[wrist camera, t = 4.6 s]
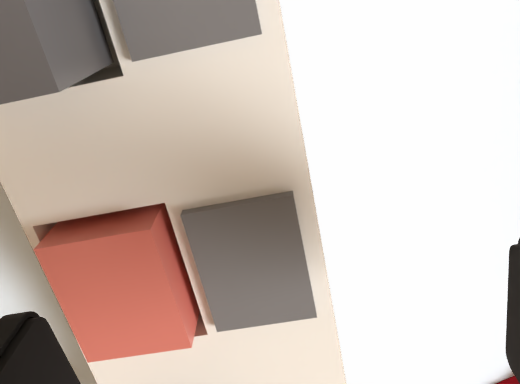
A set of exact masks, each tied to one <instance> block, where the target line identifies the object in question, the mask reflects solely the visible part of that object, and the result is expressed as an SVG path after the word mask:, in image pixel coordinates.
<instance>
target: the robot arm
mask: <svg viewBox="0 0 520 384" xmlns="http://www.w3.org/2000/svg"><path fill="white" fill-rule="evenodd" d="M506 355H507V359H508V363H509V365H510V368H511V370H512V372H513V373H514V375H515V377H516V378H517V380H518V382H519V384H520V239H519V241H518V244H516V245H512V246H511V247H510V251H509V275H508V302H507V329H506ZM0 384H80V382H79V380H78V378H77V376H76V374H75V372H74V371H73V369H72V367H71V365H70V363H69V361H68V359H67V357H66V356H65V354H64V352H63V350H62V348H61V346H60V344H59V342H58V341H57V339H56V337H55V335H54V333H53V331H52V329H51V327H50V325H49V324H48V322H47V320H46V319H45V318H43V317H39V315H38V314H37V313H35V312H31V311H30V312H23V313H17V314H10V315H6V316H3V317H2V318H1V319H0Z"/></svg>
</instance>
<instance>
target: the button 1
mask: <svg viewBox="0 0 520 384" xmlns="http://www.w3.org/2000/svg"><path fill="white" fill-rule="evenodd" d="M112 63H114V61H113V58H112V55H111V52H110V49H109V46H108V43H107V40H106V37H105V34H104V31H103V28H102V25H101V21H100V18H99V15H98V12H97V9H96V6H95V3H94V0H0V105H1V104H6V103H10V102H15V101H20V100H24V99H29V98H34V97H39V96H43V95H48V94H53V93H58V92H61V91H62V90H64V89H66V88H68V87H70V86H72V85H73V84H75V83H77V82H79V81H81V80H83V79H84V78H86V77H88V76H90V75H92V74H94V73H95V72H97V71H99V70H101V69H103V68H105V67H106V66H108V65H110V64H112Z"/></svg>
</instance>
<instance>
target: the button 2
mask: <svg viewBox="0 0 520 384" xmlns="http://www.w3.org/2000/svg"><path fill="white" fill-rule="evenodd" d="M33 250H34V252H35V254H36V256H37V258H38V260H39V262H40V264H41V266H42V268H43V270H44V273H45V275H46V277H47V279H48V281H49V283H50V285H51V287H52V289H53V291H54V293H55V296H56V298H57V300H58V302H59V304H60V306H61V308H62V310H63V312H64V314H65V316H66V318H67V321H68V323H69V325H70V327H71V329H72V331H73V333H74V335H75V337H76V339H77V341H78V343H79V346H80V348H81V350H82V352H83V354H84V356H85V358H86V360H87V362H88V363H89V362H96V361H103V360H110V359H117V358H124V357H131V356H138V355H145V354H152V353H159V352H166V351H173V350H180V349H187V348H192V344H193V340H194V335H195V330H196V326H197V321H198V316H199V312H200V309H199V306H198V303H197V300H196V297H195V294H194V291H193V288H192V285H191V282H190V278H189V275H188V272H187V269H186V266H185V263H184V260H183V257H182V254H181V251H180V248H179V245H178V242H177V238H176V235H175V232H174V229H173V226H172V223H171V220H170V217H169V214H168V211H167V208H166V205H165V203H161V204H155V205H150V206H144V207H138V208H133V209H127V210H122V211H116V212H110V213H105V214H99V215H94V216H88V217H83V218H77V219H71V220H66V221H60V222H57V223H56V224H55V225H54V227H53V228H52V229H51V230H50V231H49V232H48V233H47V235H46V236H45V237H44V238H43V239H42V240H41V241H40V243H39V244H38V245H37V246H36V247H35V248H34V249H33Z"/></svg>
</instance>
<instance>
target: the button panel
mask: <svg viewBox="0 0 520 384" xmlns="http://www.w3.org/2000/svg"><path fill="white" fill-rule="evenodd" d="M94 3H95V6H96V9H97V12H98V15H99V18H100V21H101V25H102V28H103V31H104V34H105V37H106V40H107V43H108V46H109V49H110V52H111V55H112V58H113V61H114V63H112V64H110V65H108V66H106V67H105V68H103V69H101V70H99V71H97V72H95V73H94V74H92V75H90V76H88V77H86V78H84V79H83V80H81V81H79V82H77V83H75V84H73V85H72V86H70V87H68V88H66V89H64V90H62V91H61V92H58V93H53V94H48V95H43V96H39V97H34V98H29V99H24V100H20V101H15V102H10V103H6V104H1V105H0V182H1V184H2V187H3V189H4V191H5V193H6V195H7V197H8V199H9V201H10V203H11V205H12V207H13V209H14V212H15V214H16V216H17V218H18V220H19V222H20V224H21V226H22V228H23V230H24V232H25V234H26V237H27V239H28V241H29V243H30V245H31V247H32V249H34V248H35V247H36V246H37V245H38V244H39V243H40V241H41V240H42V239H43V238H44V237H45V236H46V235H47V233H48V232H49V231H50V230H51V229H52V228H53V227H54V225H55V224H56V223H57V222H60V221H66V220H71V219H77V218H83V217H88V216H94V215H99V214H105V213H110V212H116V211H122V210H127V209H133V208H138V207H144V206H150V205H155V204H161V203H165V205H166V208H167V211H168V214H169V217H170V220H171V223H172V226H173V229H174V232H175V235H176V238H177V242H178V245H179V248H180V251H181V254H182V257H183V260H184V263H185V266H186V269H187V272H188V275H189V278H190V282H191V285H192V288H193V291H194V294H195V297H196V300H197V303H198V306H199V309H200V312H199V316H198V321H197V326H196V330H195V335H194V340H193V344H192V348H187V349H180V350H173V351H166V352H159V353H152V354H145V355H138V356H131V357H124V358H117V359H110V360H103V361H96V362H89V363H88V362H87V364H88V366H89V368H90V370H91V372H92V374H93V376H94V378H95V380H96V382H97V384H346V379H345V374H344V368H343V362H342V356H341V351H340V345H339V339H338V334H337V328H336V322H335V317H334V311H333V305H332V299H331V294H330V288H329V282H328V277H327V271H326V265H325V260H324V254H323V248H322V242H321V237H320V231H319V225H318V220H317V214H316V208H315V203H314V197H313V191H312V185H311V180H310V174H309V168H308V163H307V157H306V151H305V146H304V140H303V134H302V128H301V123H300V117H299V111H298V106H297V100H296V94H295V89H294V83H293V77H292V71H291V66H290V60H289V54H288V49H287V43H286V37H285V32H284V26H283V20H282V14H281V9H280V3H279V0H94ZM33 251H34V250H33ZM34 253H35V252H34ZM35 255H36V254H35ZM36 257H37V256H36ZM37 259H38V258H37ZM38 262H39V260H38ZM39 264H40V262H39ZM40 266H41V264H40ZM41 268H42V266H41ZM42 270H43V268H42ZM43 272H44V270H43ZM44 274H45V273H44ZM45 276H46V275H45ZM46 278H47V277H46ZM47 280H48V279H47ZM48 282H49V281H48ZM49 284H50V283H49ZM50 287H51V285H50ZM51 289H52V287H51ZM52 291H53V289H52ZM53 293H54V291H53ZM54 295H55V293H54ZM55 297H56V296H55ZM56 299H57V298H56ZM57 301H58V300H57ZM58 303H59V302H58ZM59 305H60V304H59ZM60 307H61V306H60ZM61 309H62V308H61ZM62 311H63V310H62ZM63 314H64V312H63ZM64 316H65V314H64ZM65 318H66V316H65ZM66 320H67V318H66ZM67 322H68V321H67ZM68 324H69V323H68ZM69 326H70V325H69ZM70 328H71V327H70ZM71 330H72V329H71ZM72 332H73V331H72ZM73 334H74V333H73ZM74 336H75V335H74ZM75 339H76V337H75ZM76 341H77V339H76ZM77 343H78V341H77ZM78 345H79V343H78ZM79 347H80V346H79ZM80 349H81V348H80ZM81 351H82V350H81ZM82 353H83V352H82ZM83 355H84V354H83ZM84 357H85V356H84ZM85 359H86V358H85ZM86 361H87V360H86Z"/></svg>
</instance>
